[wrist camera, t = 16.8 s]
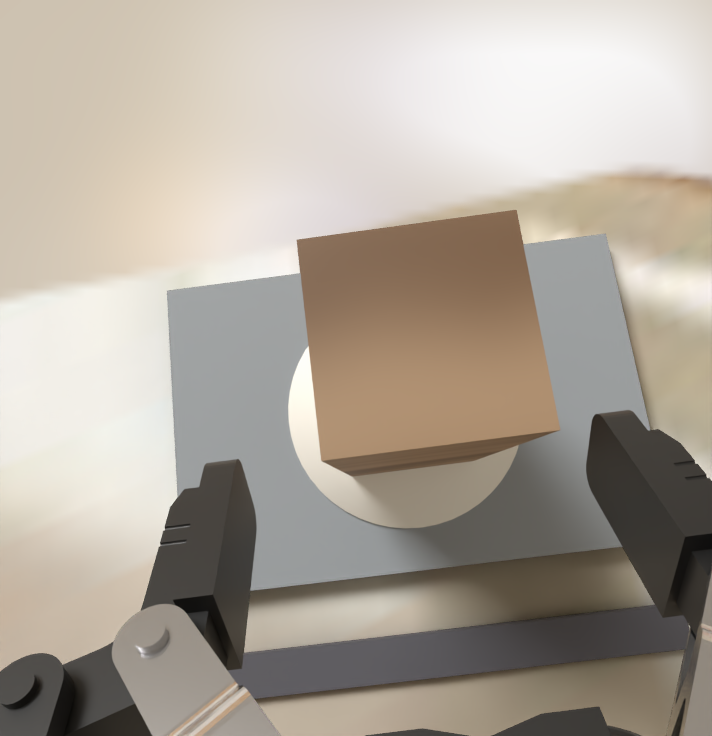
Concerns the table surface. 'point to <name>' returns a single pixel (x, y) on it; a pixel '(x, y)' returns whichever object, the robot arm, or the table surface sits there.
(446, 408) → the square wooden post
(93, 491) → the table surface
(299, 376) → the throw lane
